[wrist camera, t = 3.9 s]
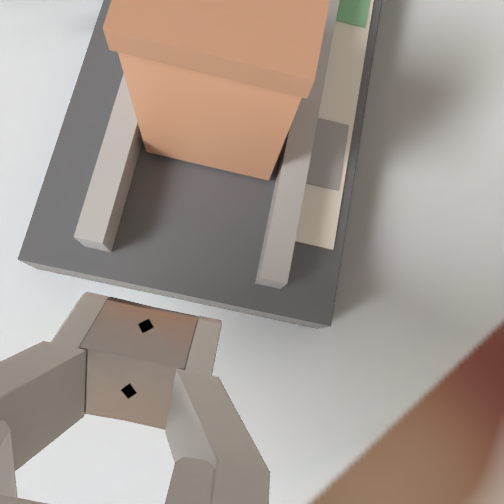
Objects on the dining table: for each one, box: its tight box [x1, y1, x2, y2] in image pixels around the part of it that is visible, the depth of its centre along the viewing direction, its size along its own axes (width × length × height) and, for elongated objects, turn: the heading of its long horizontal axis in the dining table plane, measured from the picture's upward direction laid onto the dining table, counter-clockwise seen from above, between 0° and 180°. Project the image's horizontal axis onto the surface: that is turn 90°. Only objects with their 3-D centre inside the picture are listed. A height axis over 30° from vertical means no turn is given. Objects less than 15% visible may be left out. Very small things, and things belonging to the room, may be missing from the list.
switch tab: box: [103, 0, 330, 181], centre depth 15 cm, size 4×5×7 cm
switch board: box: [18, 0, 382, 328], centre depth 19 cm, size 22×12×4 cm, turn 169°
